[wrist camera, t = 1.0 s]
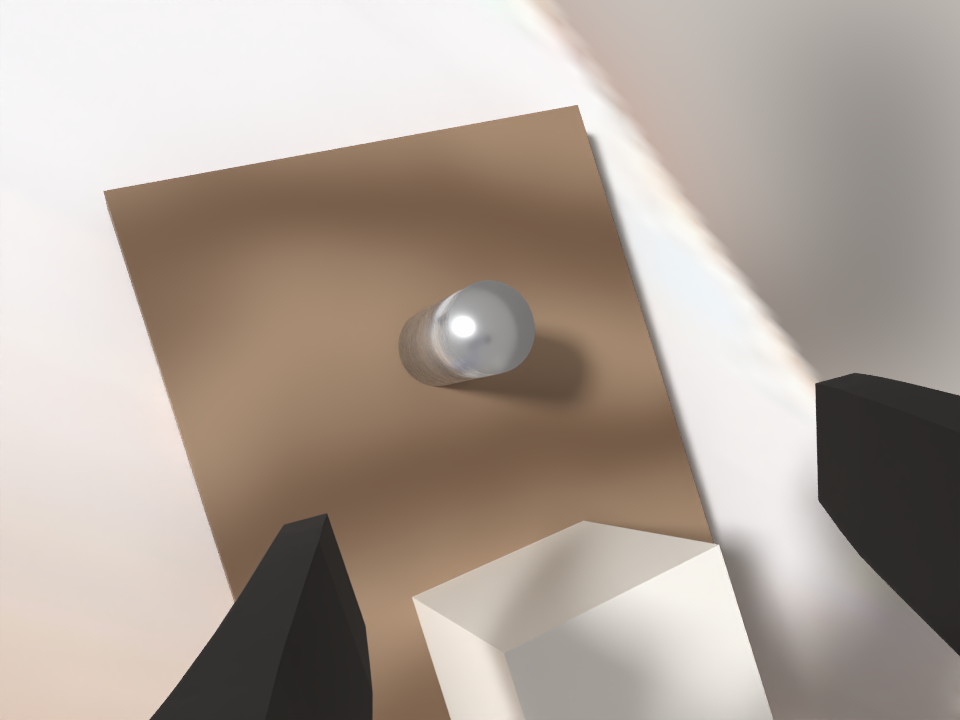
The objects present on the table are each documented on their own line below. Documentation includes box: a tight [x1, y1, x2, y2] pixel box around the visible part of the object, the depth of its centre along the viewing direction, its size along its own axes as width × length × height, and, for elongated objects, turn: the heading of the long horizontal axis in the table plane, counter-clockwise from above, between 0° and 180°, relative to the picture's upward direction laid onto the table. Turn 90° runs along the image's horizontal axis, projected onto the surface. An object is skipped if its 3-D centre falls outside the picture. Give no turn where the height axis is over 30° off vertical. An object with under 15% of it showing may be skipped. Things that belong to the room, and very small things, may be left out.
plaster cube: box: [412, 521, 773, 720], centre depth 19 cm, size 6×6×6 cm
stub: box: [398, 280, 535, 386], centre depth 20 cm, size 2×2×4 cm
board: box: [104, 105, 714, 720], centre depth 22 cm, size 20×14×2 cm
